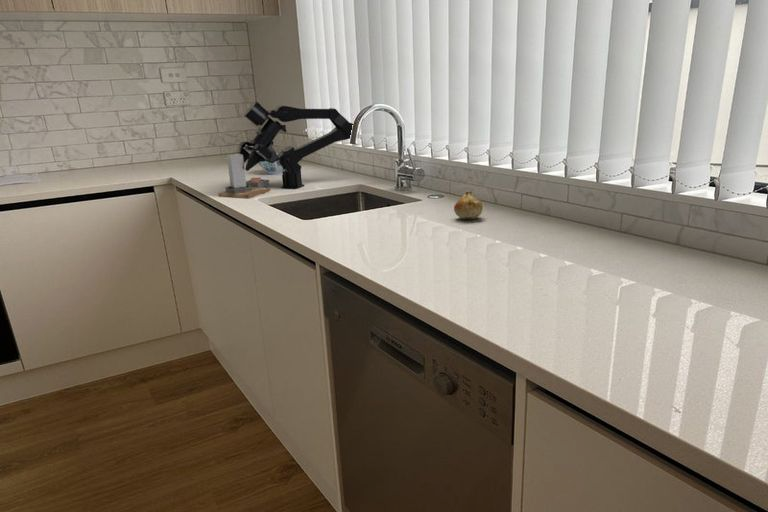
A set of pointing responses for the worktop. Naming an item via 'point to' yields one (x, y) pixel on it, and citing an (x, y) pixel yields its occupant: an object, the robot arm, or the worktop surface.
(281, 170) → the chinaware
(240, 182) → the billet
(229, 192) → the brown flat square block
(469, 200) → the onion
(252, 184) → the button housing
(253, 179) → the button
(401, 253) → the worktop surface
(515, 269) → the worktop surface
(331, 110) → the robot arm
